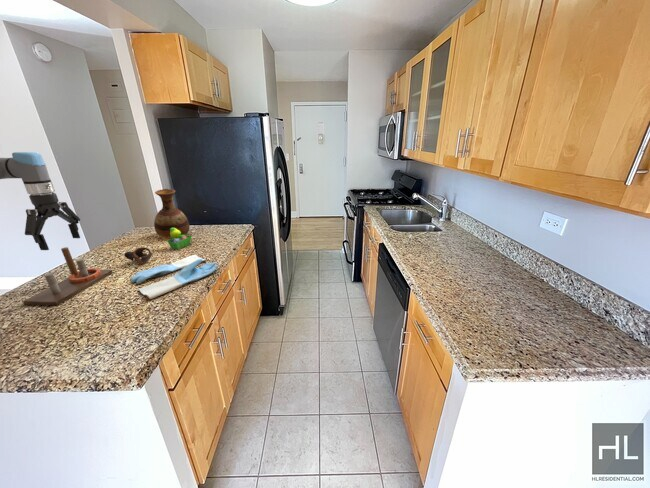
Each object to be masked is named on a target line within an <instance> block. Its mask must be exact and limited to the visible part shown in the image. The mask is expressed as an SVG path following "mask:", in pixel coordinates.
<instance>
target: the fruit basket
mask: <svg viewBox="0 0 650 488" xmlns="http://www.w3.org/2000/svg"><path fill="white" fill-rule="evenodd" d="M170 235H171V237H170V239H167V240H166V242H167V243H168V245H169V246H170V248H171V249H173V250H180V249H183V248H184V247H187V246H189V245H191V243H192V235H189V234H184V235H181V232H180V231H179V230H177V229H176V228H171V229H170Z"/></svg>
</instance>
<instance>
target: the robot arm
mask: <svg viewBox="0 0 650 488" xmlns="http://www.w3.org/2000/svg"><path fill="white" fill-rule="evenodd" d="M11 156H12V157H0V180H6V179H21V181H22V183H23V186H24V188H25V191H26V193H27V194H28V195H29V196H28V198H29V200H30V202H31V204H32V206H34V208H32V209H31V208H27V209H25V214H26V220H25V228H24V235H25V236H32V238H33V240H34V242H35V244H38V247H39V249H40V251H49V250H50V248H49V246H48V243H47V241H46V238H45V235H44V234H43V233H42V230H43V228H44V226H45V223H46V221H47V220H48V219H49V218H53V217H56V216H58V217H59V218H60V219H62V220H63V221H66V222H67V223H68V224H67V226H68V228H69V231H70V234H71V237H72V239H81V235H80V232H79V227H78V224H79V223H80V221H81V218H80V217H79V216H78V215H77V214H76V213H75V212H74V210H72V209H71V208H70V207H69V204H68V203H67V202H66V201H65V202H64V201H59V198H58V195H57V193H55V192H56V190H55V188H54V185H53V182H52V180H51V177H50V174H49V172H48V168H47V164H46V163H45V161H44V158H43V156H42V155H41V153H40V152H36V151H17V152H16V151H15V152H12V153H11Z"/></svg>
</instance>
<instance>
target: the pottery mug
mask: <svg viewBox="0 0 650 488" xmlns="http://www.w3.org/2000/svg"><path fill="white" fill-rule="evenodd" d="M144 251H147V252H148V253H144ZM153 255H154V254H153V253H152V252H151V249H150V248H148V247H146V246H145V247H144V246H140V247H136V248H135V249H133V251H125V252H124V255H123V256H124V258H126V259H128V260H130V261H131V262H134V261H137V265H141V266H142V265H143V263H146V262H147V261H149V260H151V258H152V257H153Z"/></svg>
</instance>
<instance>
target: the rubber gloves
mask: <svg viewBox="0 0 650 488" xmlns="http://www.w3.org/2000/svg"><path fill="white" fill-rule="evenodd" d="M206 261H207V259H206V258H202V257H200V256H198V255H197V254H192V255H189V256H186V257H184V258H181V259H179V260H177V261H173V262H172V263H169V264H167V263H164V264H160V265H156V266H154V267H150V268H148V269H144V270H141V271H138V272H136V273H134V275H133V276H132V277H130V281H129V283H132V284H133V283H136V284H137V285H139V284H142V283H143V282H144V281H146V280H148V279H149V278H156V277H160V276H165V275H166V274H169V273H172V272H176V271H178V272H177V273H176V274H174V275H172V276H170V277H167V278H164V279H162V280H160V281H157V282H153V283H152V284H149V285H146V286H143V287H140V288H138V290H139V292H140V293H141V294H142V296H145V297H146V298H147V299H149V300H152V299H154V298H157V297H159V296H162V295H165V294H166V293H170V292H171V291H173V290H176V289H178V288H180V287H182V286H184V285H187V284H188V283H192V282H194V281H198V280H200V279H203V278H205V277H207V276H209V275H211V274H212V273H214V272H216V271H217V269H218V268H219V265H217V264H216V262H214V261H212V262H206ZM202 262H206V263H204V264H203V265H202V266H200V267H198V266H199V265H201V264H202Z"/></svg>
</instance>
